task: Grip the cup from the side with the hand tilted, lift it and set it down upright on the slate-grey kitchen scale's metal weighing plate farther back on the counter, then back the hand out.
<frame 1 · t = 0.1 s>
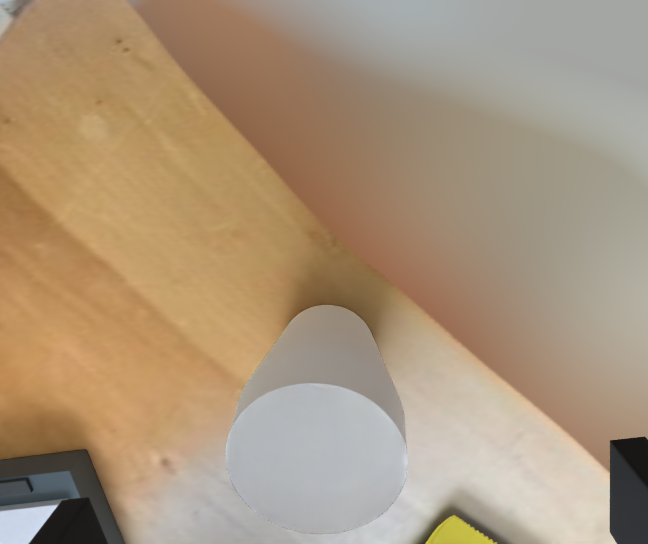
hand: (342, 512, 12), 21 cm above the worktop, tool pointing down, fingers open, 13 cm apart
cup: (327, 345, 33), on the worktop
scale: (44, 524, 40), on the worktop
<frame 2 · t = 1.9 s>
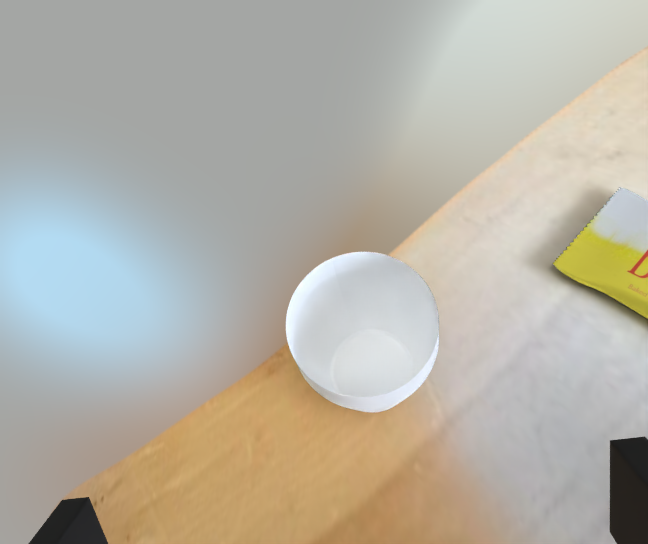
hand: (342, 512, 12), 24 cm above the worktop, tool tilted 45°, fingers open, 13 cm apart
cup: (371, 370, 37), on the worktop
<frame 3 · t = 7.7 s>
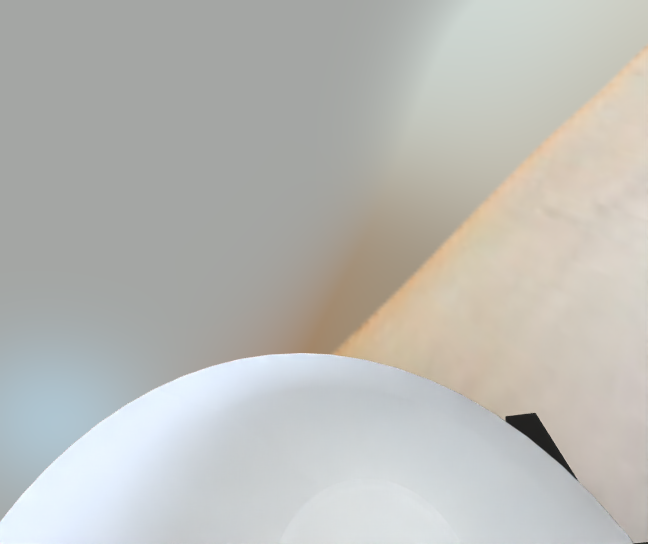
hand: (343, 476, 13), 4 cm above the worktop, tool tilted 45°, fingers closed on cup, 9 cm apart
when the fingers open (7 cm above the worktop, at t = 17.3 s): cup stays where it is, resting on scale.
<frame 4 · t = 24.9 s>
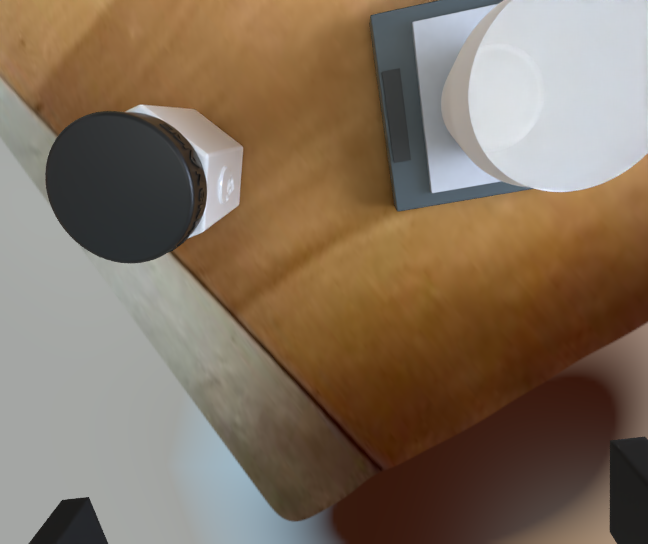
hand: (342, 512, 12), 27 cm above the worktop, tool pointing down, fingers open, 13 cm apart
jar: (193, 169, 36), on the worktop
cup: (490, 99, 31), point 3 cm above the worktop, touching scale
scale: (479, 101, 33), on the worktop
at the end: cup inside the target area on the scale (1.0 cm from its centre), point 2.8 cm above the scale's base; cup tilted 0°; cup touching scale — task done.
